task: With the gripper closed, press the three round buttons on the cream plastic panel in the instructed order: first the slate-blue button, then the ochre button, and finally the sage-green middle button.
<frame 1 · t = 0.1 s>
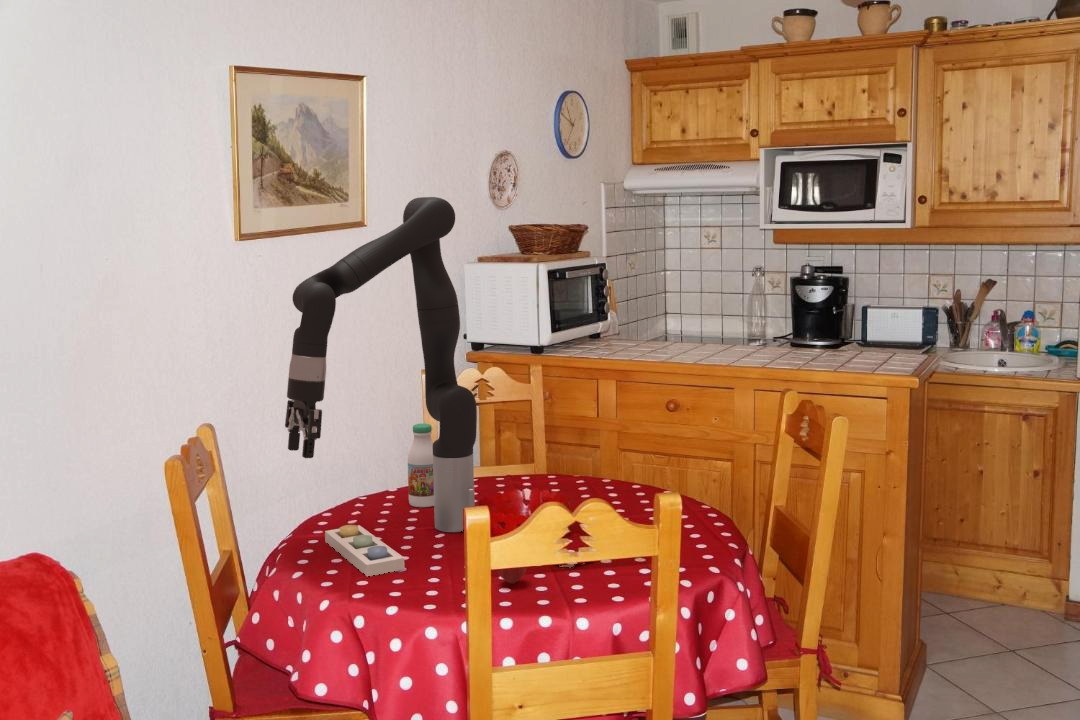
hand: (300, 453, 219), 22 cm above the table, tool pointing down, fingers open, 8 cm apart
egg carton: (572, 561, 218), on the table
button panel: (363, 555, 223), on the table
blue button: (377, 553, 215), point 3 cm above the table, slide at 0.0 cm
sage button: (362, 542, 222), point 3 cm above the table, slide at 0.0 cm
onion: (512, 584, 205), on the table
ochre button: (349, 532, 229), point 3 cm above the table, slide at 0.0 cm
milk bottle: (424, 504, 261), on the table
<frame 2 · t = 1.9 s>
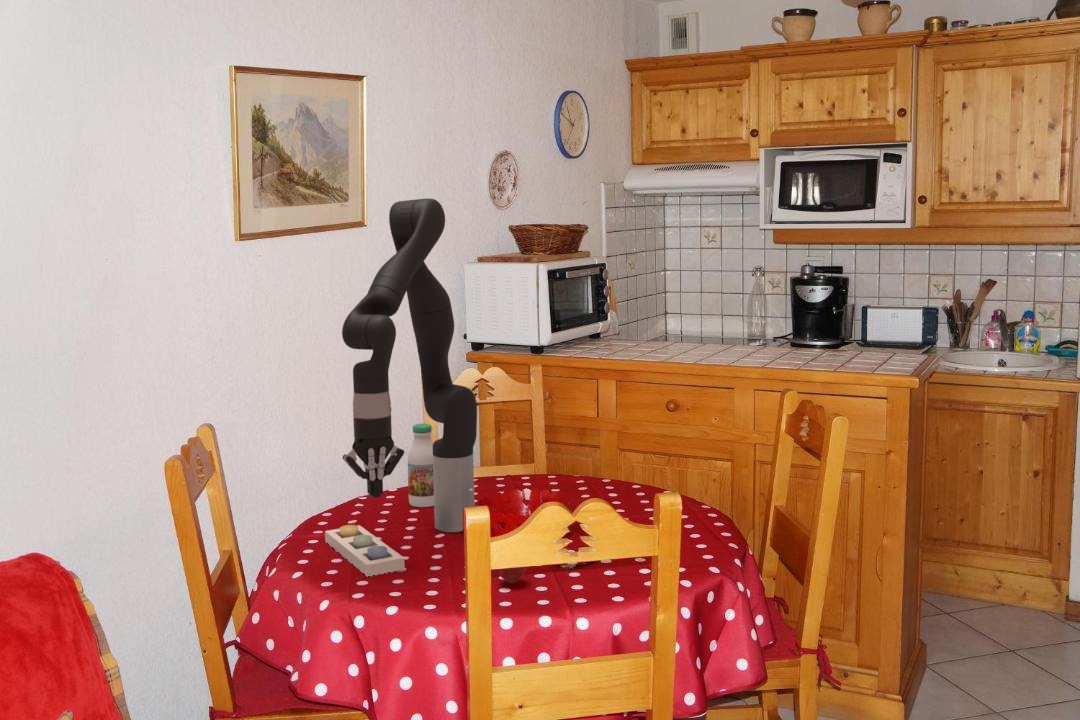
hand: (375, 496, 213), 15 cm above the table, tool pointing down, fingers closed
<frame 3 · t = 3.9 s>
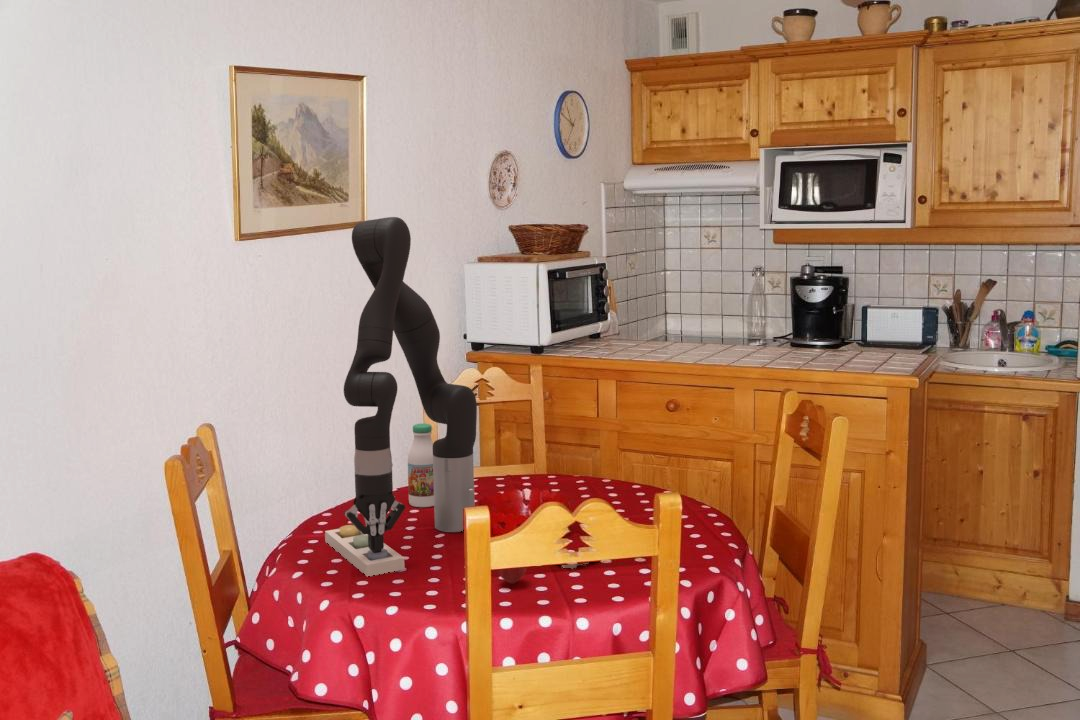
hand: (376, 551, 215), 3 cm above the table, tool pointing down, fingers closed
blue button: (377, 556, 215), point 2 cm above the table, slide at 0.5 cm, touching gripper
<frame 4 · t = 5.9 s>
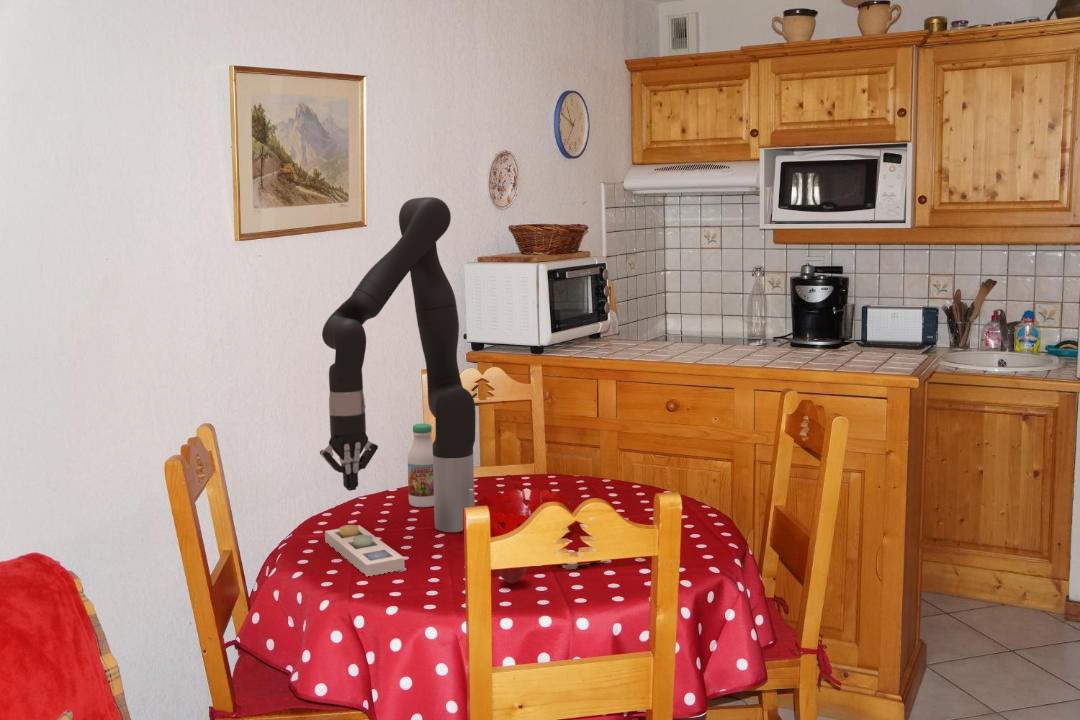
hand: (350, 489, 226), 13 cm above the table, tool pointing down, fingers closed
blue button: (377, 559, 215), point 2 cm above the table, slide at 1.2 cm
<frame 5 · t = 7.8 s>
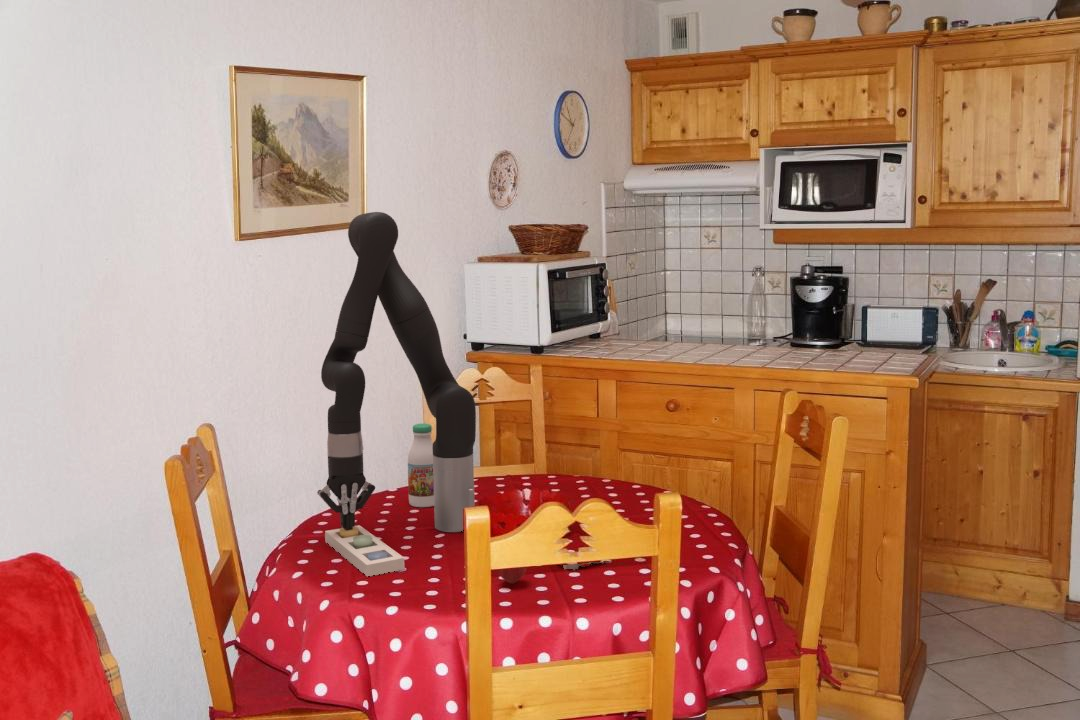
hand: (347, 529, 229), 3 cm above the table, tool pointing down, fingers closed
ochre button: (349, 533, 230), point 2 cm above the table, slide at 0.3 cm, touching gripper
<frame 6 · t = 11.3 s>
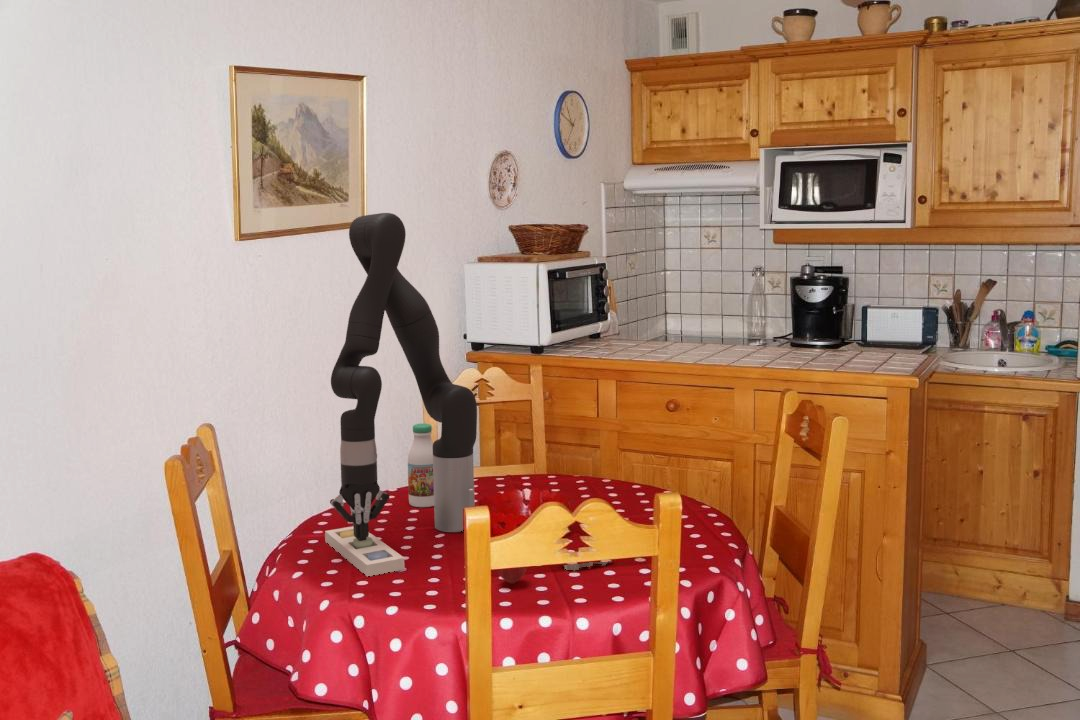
hand: (361, 539, 222), 3 cm above the table, tool pointing down, fingers closed
sage button: (362, 544, 222), point 2 cm above the table, slide at 0.4 cm, touching gripper
ochre button: (349, 537, 230), point 2 cm above the table, slide at 1.2 cm
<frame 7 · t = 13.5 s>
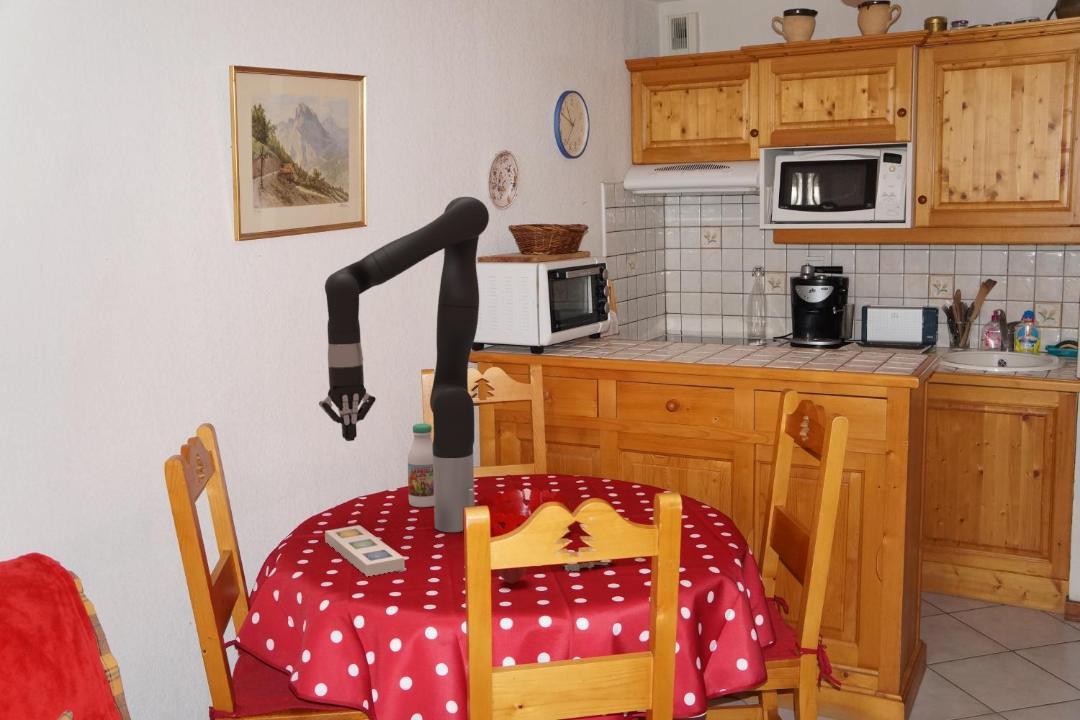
hand: (349, 440, 232), 22 cm above the table, tool pointing down, fingers closed
sage button: (363, 547, 222), point 2 cm above the table, slide at 1.2 cm
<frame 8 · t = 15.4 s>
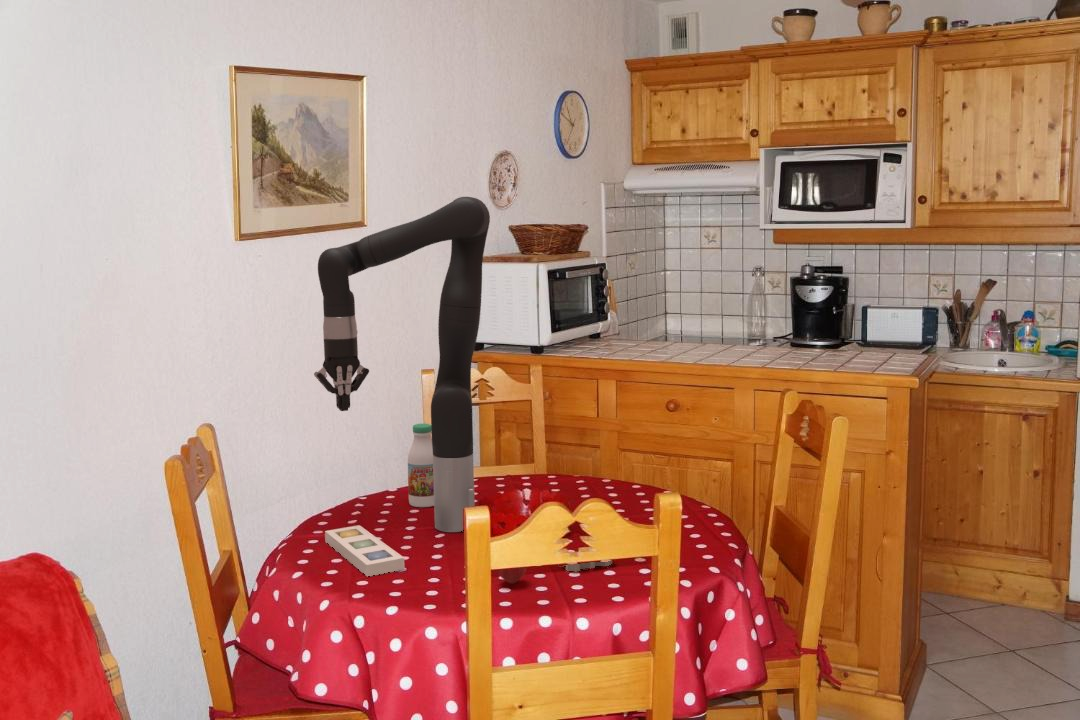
hand: (343, 410, 241), 27 cm above the table, tool pointing down, fingers closed
at the end: blue button slide at 1.2 cm; ochre button slide at 1.2 cm; sage button slide at 1.2 cm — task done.
